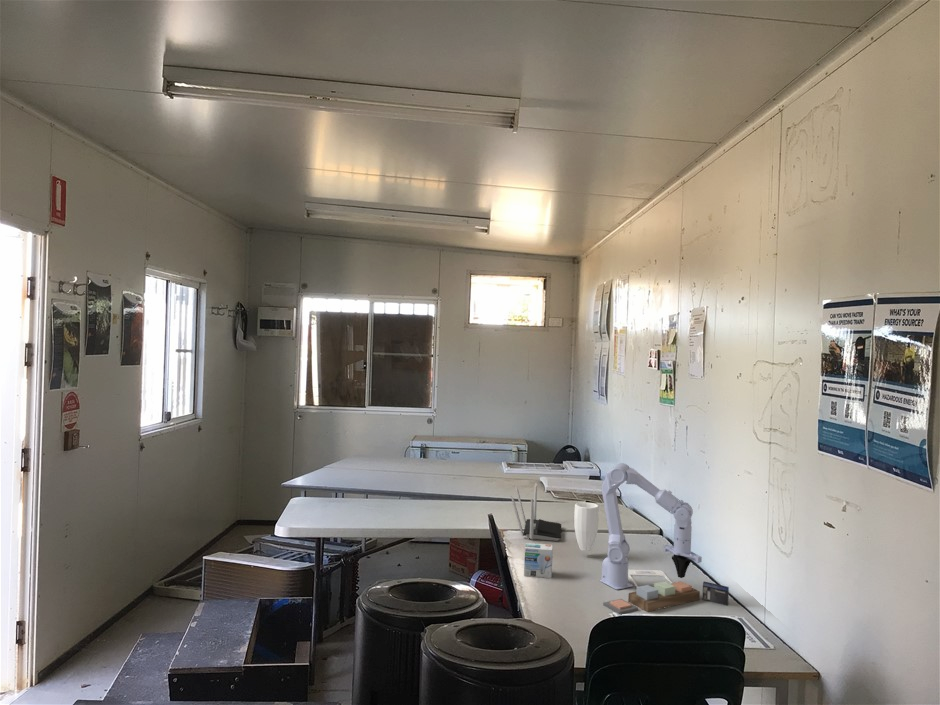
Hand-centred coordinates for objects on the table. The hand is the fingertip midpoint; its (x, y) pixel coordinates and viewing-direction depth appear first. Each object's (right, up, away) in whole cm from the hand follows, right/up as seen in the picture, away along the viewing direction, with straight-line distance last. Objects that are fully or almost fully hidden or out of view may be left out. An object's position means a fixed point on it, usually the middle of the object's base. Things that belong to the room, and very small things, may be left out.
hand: (681, 576), depth 216 cm
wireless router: (-43, -6, +72) cm, 84 cm away
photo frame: (-6, -8, +16) cm, 19 cm away
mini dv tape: (+11, -8, -3) cm, 14 cm away
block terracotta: (0, -7, 0) cm, 7 cm away
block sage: (-7, -5, -4) cm, 10 cm away
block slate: (-14, -5, -8) cm, 17 cm away
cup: (-26, -7, +40) cm, 49 cm away
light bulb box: (-48, -6, +18) cm, 52 cm away
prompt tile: (-24, -6, -10) cm, 27 cm away
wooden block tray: (-7, -7, -4) cm, 11 cm away
